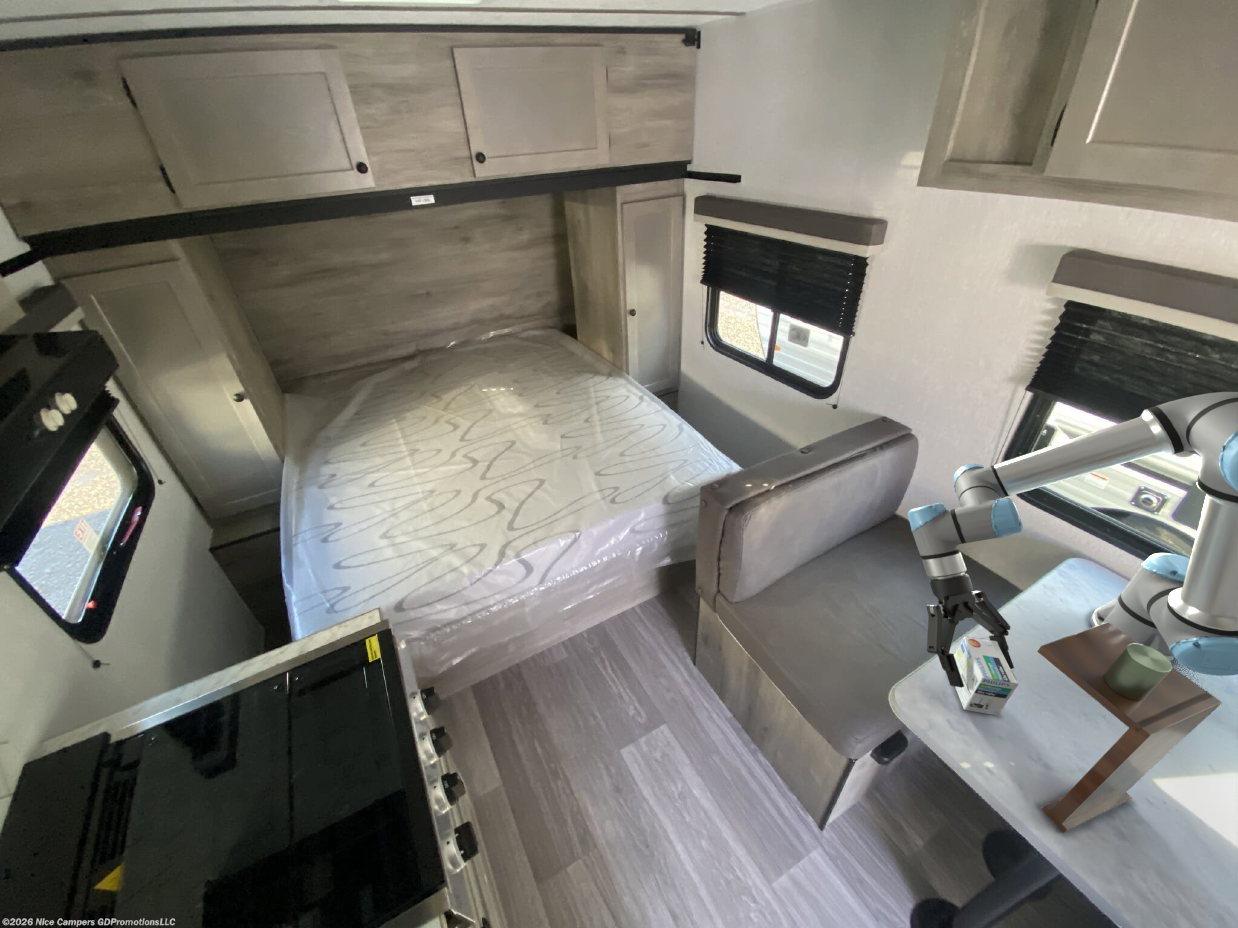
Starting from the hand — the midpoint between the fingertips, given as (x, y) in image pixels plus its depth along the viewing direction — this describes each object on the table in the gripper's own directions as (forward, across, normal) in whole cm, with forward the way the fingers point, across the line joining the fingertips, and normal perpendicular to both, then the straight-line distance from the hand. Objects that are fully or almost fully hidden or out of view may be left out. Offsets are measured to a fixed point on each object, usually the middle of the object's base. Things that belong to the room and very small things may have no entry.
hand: (982, 676), depth 106 cm
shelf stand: (+16, 0, +8) cm, 17 cm away
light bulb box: (+4, 0, -4) cm, 6 cm away
